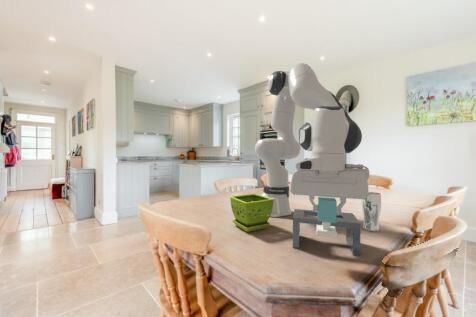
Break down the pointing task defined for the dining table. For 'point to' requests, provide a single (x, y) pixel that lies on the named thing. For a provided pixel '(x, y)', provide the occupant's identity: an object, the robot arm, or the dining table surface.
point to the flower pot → (251, 211)
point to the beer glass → (371, 211)
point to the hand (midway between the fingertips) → (326, 212)
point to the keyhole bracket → (341, 220)
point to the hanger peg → (326, 217)
